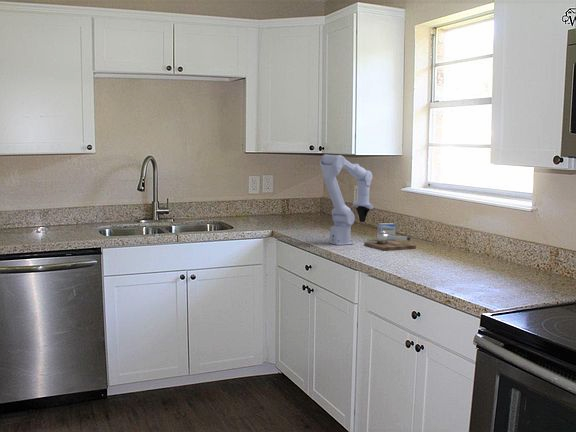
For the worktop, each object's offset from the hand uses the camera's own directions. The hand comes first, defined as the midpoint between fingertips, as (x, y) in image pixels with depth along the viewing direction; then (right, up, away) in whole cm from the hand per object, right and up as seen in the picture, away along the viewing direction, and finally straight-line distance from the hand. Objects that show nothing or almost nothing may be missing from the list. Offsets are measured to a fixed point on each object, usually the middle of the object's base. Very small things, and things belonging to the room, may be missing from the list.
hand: (362, 221), depth 327 cm
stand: (+11, -12, -15) cm, 22 cm away
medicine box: (+12, -10, +4) cm, 16 cm away
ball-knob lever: (+13, -10, -16) cm, 23 cm away
